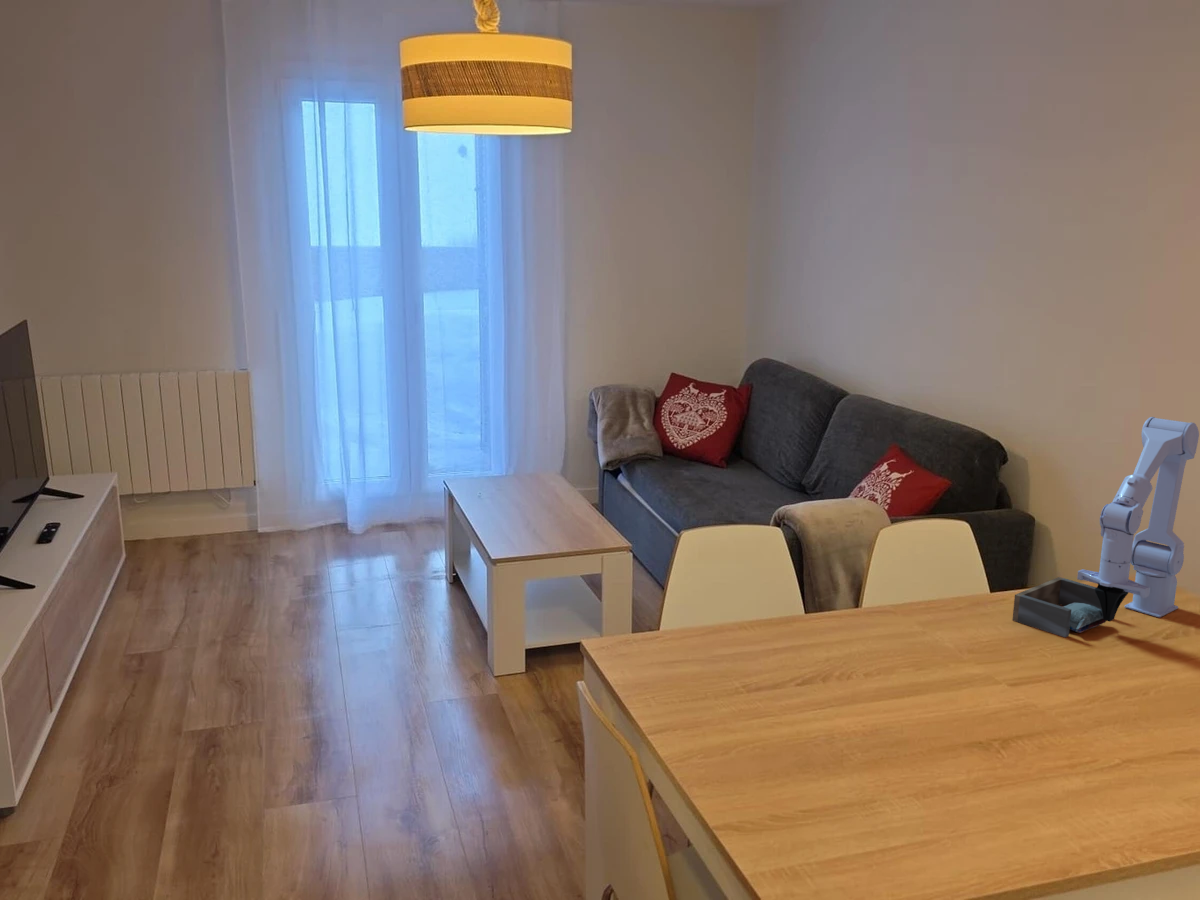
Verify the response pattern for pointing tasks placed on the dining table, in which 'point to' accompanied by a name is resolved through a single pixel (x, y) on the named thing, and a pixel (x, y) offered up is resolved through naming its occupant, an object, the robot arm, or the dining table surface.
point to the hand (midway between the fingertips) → (1108, 619)
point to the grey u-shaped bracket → (1052, 604)
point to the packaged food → (1084, 616)
